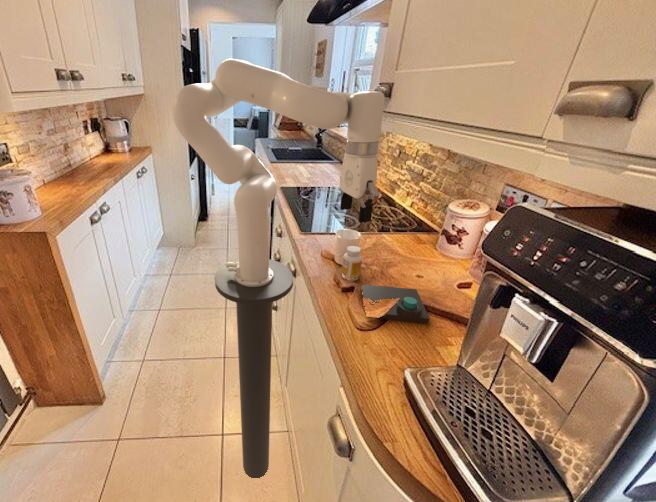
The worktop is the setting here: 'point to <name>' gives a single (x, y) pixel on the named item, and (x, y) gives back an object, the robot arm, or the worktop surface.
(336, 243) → the white cup
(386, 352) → the worktop surface
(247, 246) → the robot arm
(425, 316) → the scale
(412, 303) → the button
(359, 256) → the supplement bottle
